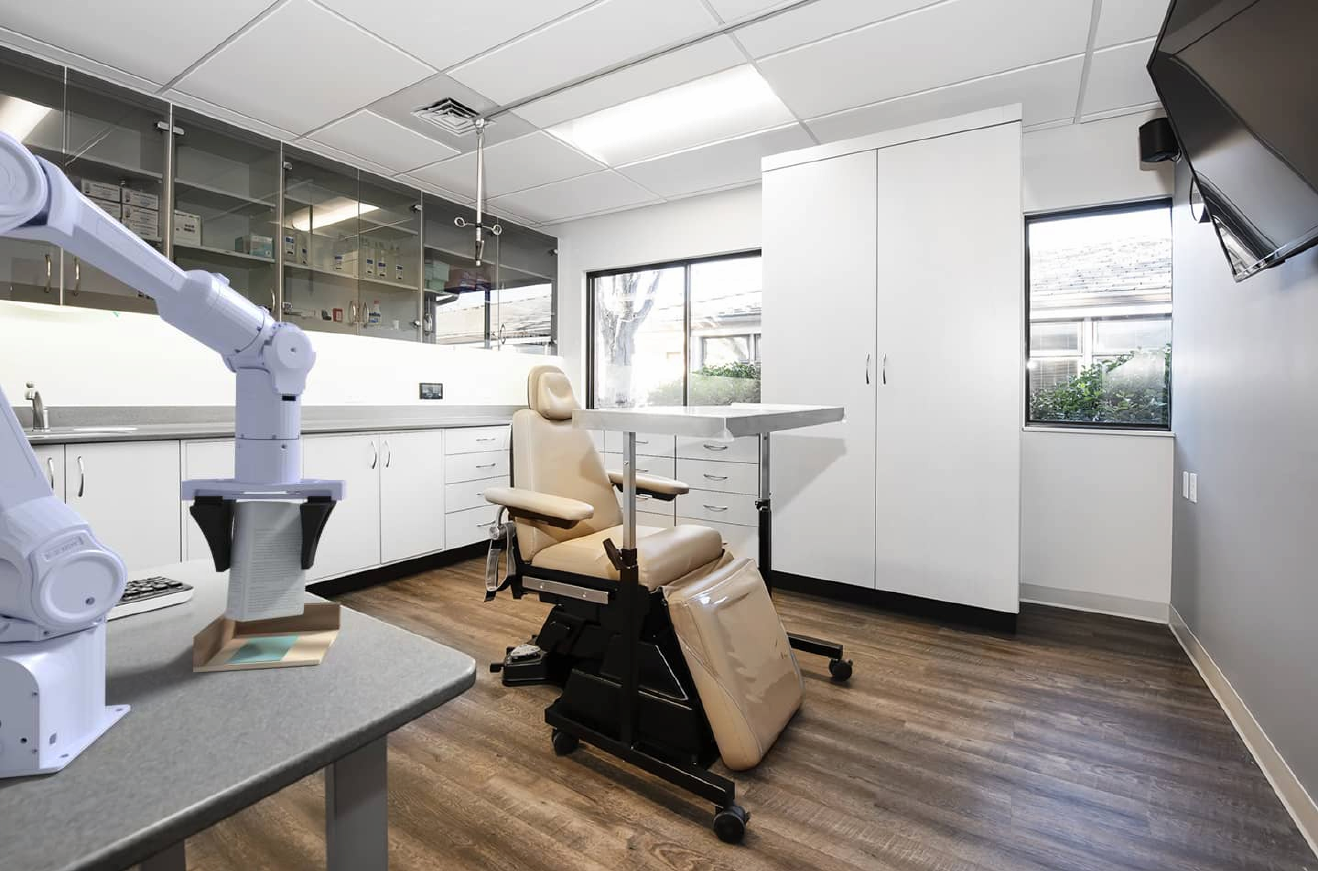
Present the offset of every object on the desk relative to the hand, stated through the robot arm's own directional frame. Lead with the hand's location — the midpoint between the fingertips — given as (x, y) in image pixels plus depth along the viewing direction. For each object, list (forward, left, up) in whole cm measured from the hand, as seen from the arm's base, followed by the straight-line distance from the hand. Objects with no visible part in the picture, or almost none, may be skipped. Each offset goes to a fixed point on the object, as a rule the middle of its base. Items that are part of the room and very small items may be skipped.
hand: (266, 568), depth 65 cm
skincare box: (0, 0, -5) cm, 5 cm away
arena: (+1, 0, -9) cm, 9 cm away
